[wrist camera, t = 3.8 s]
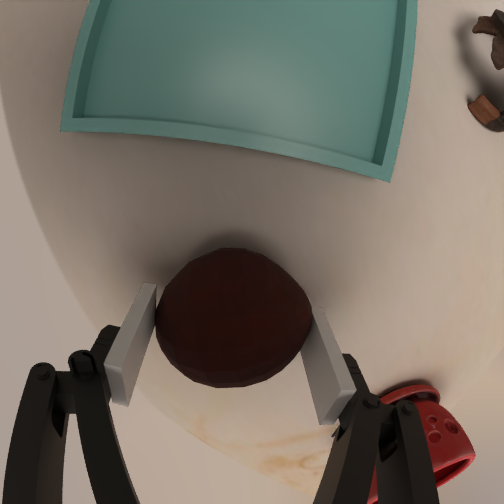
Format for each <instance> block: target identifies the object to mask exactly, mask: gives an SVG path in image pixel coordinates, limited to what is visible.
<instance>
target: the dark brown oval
mask: <svg viewBox="0 0 504 504" xmlns="http://www.w3.org/2000/svg"><path fill="white" fill-rule="evenodd" d="M311 319H312V307H311V305H310V302H309V300H308V297H307V296H306V294H305V292H304V290H303V289H302V288H301V287H300V286H299V285H298V283H297V282H296V281H295V280H294V279H293V278H292V277H291V276H290V275H289V274H288V273H287V272H285V271H284V270H283V269H282V268H281V267H280V266H279V265H277V264H276V263H274V262H272V261H271V260H269V259H268V258H266V257H265V256H263V255H260V254H258V253H255V252H252V251H250V250H247V249H244V248H220V249H218V250H215V251H213V252H211V253H208V254H206V255H204V256H201V257H199V258H197V259H194V260H193V261H191V262H189V263H188V264H187V265H186V266H185V267H184V268H183V269H182V270H181V271H180V272H179V273H178V274H177V275H176V276H175V277H174V279H173V280H172V281H171V282H170V283H169V284H168V285H167V286H166V287H165V289H164V292H163V294H162V296H161V299H160V301H159V304H158V306H157V309H156V315H155V327H156V338H157V340H158V343H159V345H160V348H161V350H162V351H163V353H164V354H165V356H166V357H167V359H168V360H169V362H170V363H171V364H172V365H173V366H174V367H175V368H177V369H178V370H179V371H180V372H181V373H182V374H184V375H185V376H186V377H188V378H189V379H191V380H192V381H194V382H197V383H201V384H204V385H208V386H211V387H215V388H233V387H246V386H249V385H253V384H256V383H259V382H262V381H265V380H268V379H269V378H271V377H272V376H274V375H275V374H277V373H279V372H280V371H282V370H283V369H284V368H285V367H286V366H287V365H288V364H289V363H290V362H291V361H292V360H293V359H294V358H295V356H296V355H297V354H298V352H299V351H300V350H301V348H302V346H303V344H304V342H305V340H306V338H307V336H308V334H309V331H310V328H311Z"/></svg>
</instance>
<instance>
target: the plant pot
mask: <svg viewBox="0 0 504 504" xmlns="http://www.w3.org/2000/svg"><path fill="white" fill-rule="evenodd" d="M380 400H381V401H382V403H384V404H389V405H395V406H396V404H397V403H398V402H399V401H401V400H409V401H411V402H413V403H414V404H415V405H416V406H417V408H418V411H419V414H420V418H421V421H422V425H423V428H424V432H425V436H426V440H427V444H428V448H429V452H430V457H431V461H432V466H433V471H434V475H435V481H436V486H437V488H438V487H440V486H441V485H443V484H445V483H446V482H448V481H450V480H451V479H453V478H454V477H455V476H457V475H458V474H460V473H461V472H462V471H464V470H465V469H466V468H467V467H468V466H469V465H470V464H471V463H472V462H473V460H474V458H475V451H474V449H473V446H472V444H471V442H470V440H469V438H468V437H467V435H466V433H465V432H464V430H463V428H462V427H461V425H460V424H459V423H458V422H457V421H456V420H455V418H454V417H453V416H452V415H451V413H449V411H447V410H446V409H445V408H444V407H442V406H440V405H439V402H440V394H439V392H438V391H437V390H436V389H435V388H433V387H431V386H427V385H412V386H408V387H404V388H401V389H398V390H396V391H393V392H391V393H389V394H387V395H385V396H383V397H382V398H380ZM367 504H378V492H377V478H376V467H374V473H373V478H372V483H371V488H370V493H369V497H368V501H367Z"/></svg>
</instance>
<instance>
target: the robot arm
mask: <svg viewBox="0 0 504 504" xmlns="http://www.w3.org/2000/svg"><path fill="white" fill-rule="evenodd" d="M156 288H157V285H155V284H149V283H143V285H142V287H141V289H140V291H139V293H138V295H137V297H136V298H135V300H134V302H133V304H132V306H131V308H130V310H129V312H128V314H127V316H126V318H125V320H124V322H123V324H122V326H121V327H117V326H113V325H107V326H106V327H105V328H103V329H102V330H101V332H100V333H99V335H98V338H97V339H96V341H95V344H93V347H92V348H91V350H90V351H88V350H79V351H76V352H74V353H72V354H71V355H70V357H69V359H68V364H69V367H70V371H55V368H54V367H53V366H52V365H51V364H49V363H38V364H36V365H34V366H33V367H32V368H31V370H30V373H29V375H28V379H27V382H26V385H25V388H24V391H23V395H22V398H21V401H20V405H19V409H18V413H17V416H16V420H15V424H14V428H13V433H12V437H11V443H10V447H9V453H8V458H7V465H6V471H5V480H4V488H3V500H2V504H62V486H63V467H64V466H63V465H64V454H65V444H66V435H67V427H68V420H69V414H76V415H77V422H78V429H79V434H80V439H81V445H82V450H83V454H84V459H85V463H86V468H87V472H88V476H89V479H90V483H91V487H92V490H93V494H94V497H95V500H96V503H97V504H140V502H139V500H138V497H137V495H136V492H135V489H134V487H133V484H132V481H131V479H130V476H129V473H128V470H127V467H126V464H125V461H124V458H123V455H122V452H121V449H120V445H119V442H118V439H117V435H116V431H115V428H114V424H113V420H112V416H111V411H110V407H109V401H110V398H112V402H113V403H115V404H119V405H123V406H127V407H128V406H129V403H130V399H131V396H132V393H133V389H134V386H135V383H136V380H137V377H138V374H139V371H140V368H141V365H142V362H143V359H144V356H145V353H146V350H147V347H148V344H149V341H150V338H151V335H152V332H153V329H154V327H155V315H156ZM311 307H312V319H311V328H310V331H309V334H308V336H307V338H306V340H305V342H304V344H303V346H302V348H301V350H300V352H301V356H302V359H303V363H304V367H305V371H306V374H307V378H308V382H309V386H310V390H311V393H312V397H313V401H314V405H315V409H316V413H317V417H318V421H319V425H330V424H334V423H335V422H336V420H337V419H338V418H339V421H340V425H339V426H338V428H337V429H336V430H335V432H334V433H333V435H332V436H331V437H334V436H335V438H334V442H333V445H332V448H331V452H330V455H329V458H328V461H327V465H326V468H325V471H324V474H323V477H322V480H321V483H320V485H319V488H318V491H317V494H316V497H315V499H314V502H313V504H367V501H368V497H369V493H370V488H371V483H372V478H373V473H374V467H376V478H377V492H378V504H440V503H439V498H438V492H437V486H436V481H435V475H434V471H433V466H432V461H431V457H430V452H429V448H428V444H427V440H426V436H425V432H424V428H423V425H422V421H421V418H420V414H419V411H418V408H417V406H416V405H415V404H414V403H413V402H411V401H409V400H401V401H399V402H398V403H397V404H396V406H395V405H389V404H384V403H382V401H381V400H380V398H379V397H378V396H376V395H374V394H372V393H370V391H369V389H368V386H367V384H366V382H365V380H364V377H363V375H362V374H361V371H360V368H359V366H358V364H357V362H356V360H355V359H354V358H353V357H352V356H351V355H350V354H342V353H341V351H340V349H339V346H338V344H337V342H336V339H335V337H334V335H333V332H332V330H331V328H330V325H329V323H328V321H327V318H326V316H325V314H324V312H323V309H322V307H314V306H311ZM335 434H336V435H335Z"/></svg>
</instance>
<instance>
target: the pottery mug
mask: <svg viewBox="0 0 504 504" xmlns="http://www.w3.org/2000/svg"><path fill="white" fill-rule="evenodd" d="M472 32H473V33H475V34H477V33H485V34H490V35H494V36H496V37H494V38H493V43H492V53H491V59H492V61H493V64H494V66H495V68H496V69H497V70H500V69H502V68H504V12H502V11H500V10H497V9H496V10H495V11H494V13H493V15H492V16H491V17H489V16H480V17H479V18H478V23H477V24H476V25H475V26H474V28H473V30H472ZM468 108H469V110H470V111H471V112H472V113H473V115H474V116H475V117H476V118H477V119H478V120H479V121H481V122H482V123H483V124H484V125H486V127H488V128H489V129H491V130H492V131H496V132H503V131H504V111H501V112H500V111H499V110H498V109H497V108H495V107H494V106H493V105H492V104H491V103H490V102H489V101H488V100H487V98H486V97H485V96H484V95H480V96H479V97H478V98H477V99H476V100H475V101H473V102H471V103H470V104H468Z"/></svg>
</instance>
